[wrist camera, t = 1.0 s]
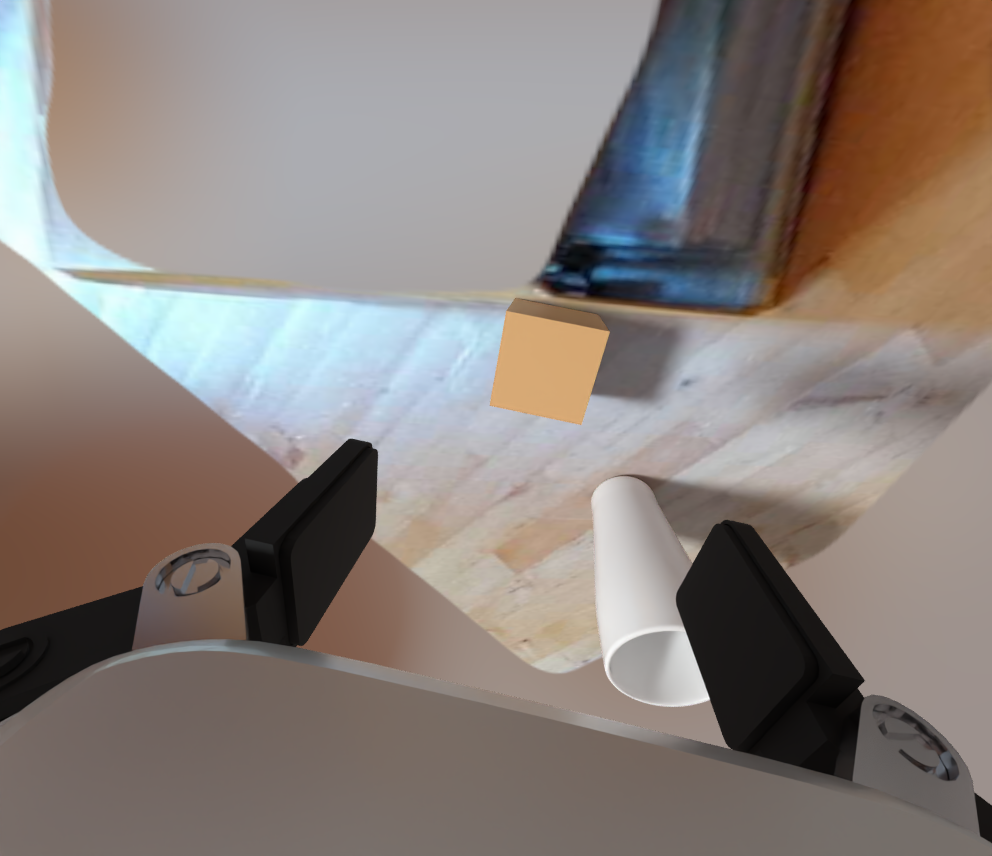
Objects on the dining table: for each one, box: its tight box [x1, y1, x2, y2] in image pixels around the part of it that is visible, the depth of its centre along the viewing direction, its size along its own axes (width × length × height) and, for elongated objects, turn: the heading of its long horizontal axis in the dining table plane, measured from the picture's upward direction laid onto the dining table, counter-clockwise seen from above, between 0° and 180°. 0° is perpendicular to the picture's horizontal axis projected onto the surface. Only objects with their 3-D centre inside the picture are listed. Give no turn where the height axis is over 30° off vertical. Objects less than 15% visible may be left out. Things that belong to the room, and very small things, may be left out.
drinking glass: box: [591, 476, 710, 707], centre depth 26 cm, size 7×7×15 cm
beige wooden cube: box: [490, 298, 610, 425], centre depth 25 cm, size 6×6×6 cm
